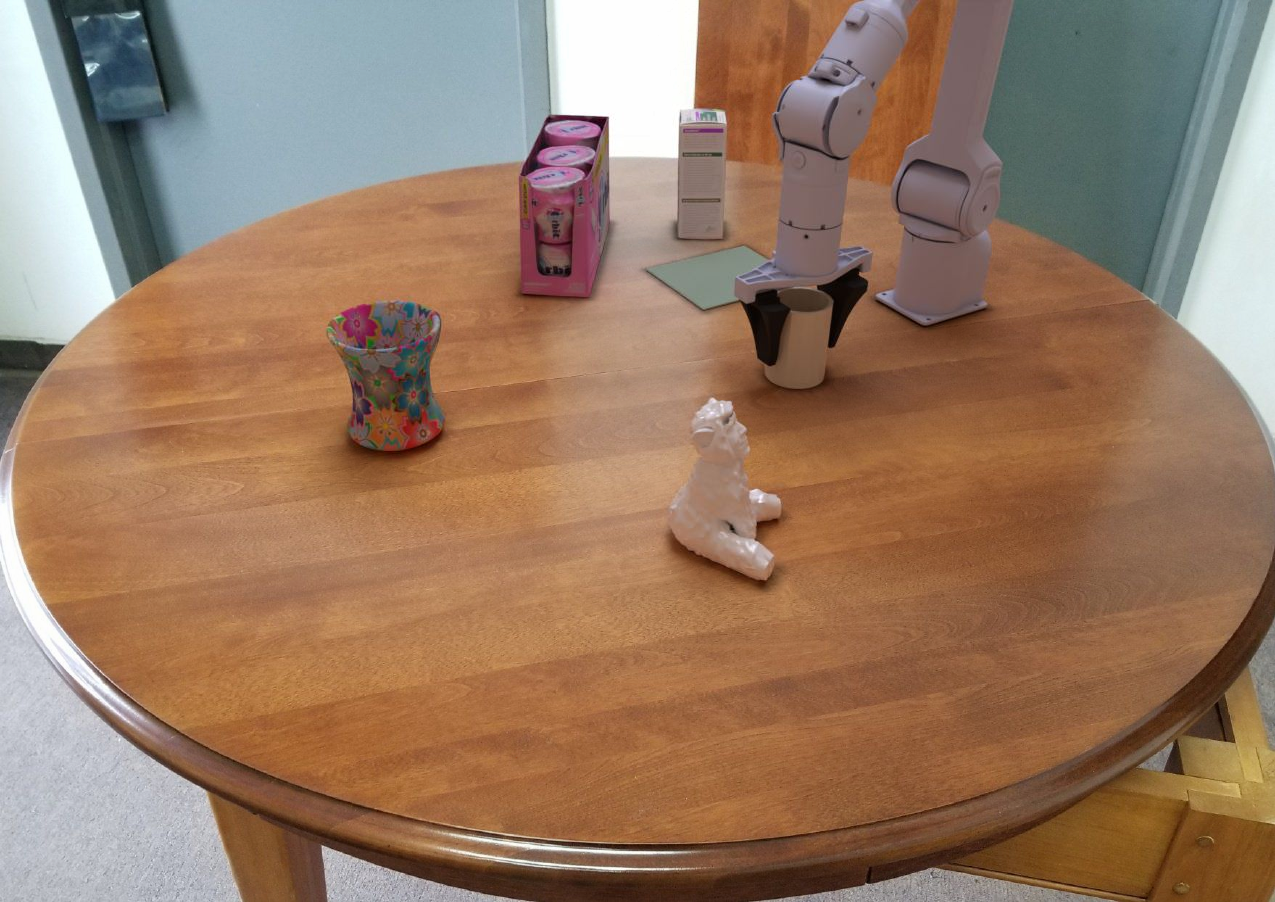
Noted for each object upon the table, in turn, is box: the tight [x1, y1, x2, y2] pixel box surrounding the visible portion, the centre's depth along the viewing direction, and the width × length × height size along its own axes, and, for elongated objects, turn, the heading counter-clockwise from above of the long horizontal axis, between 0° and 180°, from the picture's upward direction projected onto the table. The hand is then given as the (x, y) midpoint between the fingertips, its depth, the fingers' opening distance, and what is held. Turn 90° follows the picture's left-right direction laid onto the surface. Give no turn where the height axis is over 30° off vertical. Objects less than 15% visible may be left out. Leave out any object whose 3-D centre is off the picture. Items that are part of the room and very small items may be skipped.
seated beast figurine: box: [667, 397, 782, 581], centre depth 80 cm, size 10×9×12 cm
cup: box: [763, 286, 834, 390], centre depth 103 cm, size 6×6×8 cm
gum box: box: [518, 113, 611, 298], centre depth 123 cm, size 24×8×14 cm, turn 176°
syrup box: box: [676, 108, 728, 240], centre depth 131 cm, size 6×6×14 cm
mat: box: [645, 245, 770, 311], centre depth 123 cm, size 14×12×1 cm
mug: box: [325, 300, 446, 452], centre depth 93 cm, size 12×9×11 cm
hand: (796, 352), depth 103 cm, fingers open, 7 cm apart
